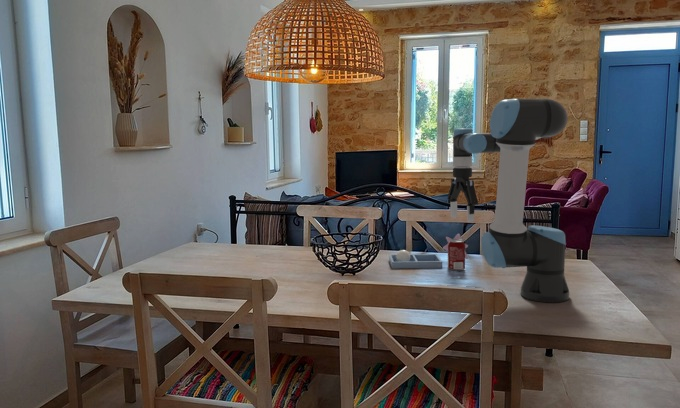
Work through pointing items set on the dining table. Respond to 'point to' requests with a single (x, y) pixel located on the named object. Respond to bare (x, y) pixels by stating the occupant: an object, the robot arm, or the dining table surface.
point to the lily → (454, 238)
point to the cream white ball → (403, 256)
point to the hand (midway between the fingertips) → (461, 219)
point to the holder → (417, 261)
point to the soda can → (456, 255)
